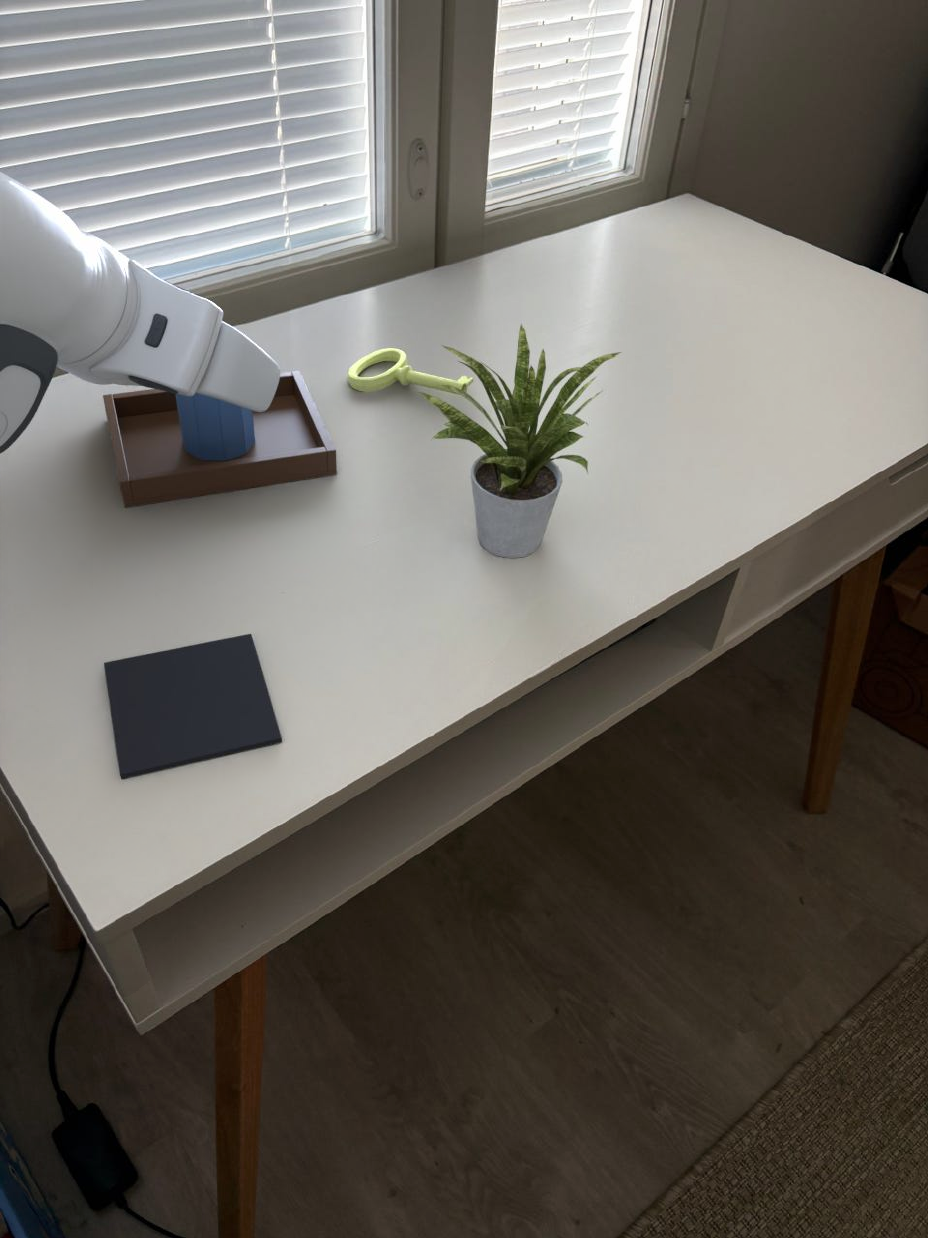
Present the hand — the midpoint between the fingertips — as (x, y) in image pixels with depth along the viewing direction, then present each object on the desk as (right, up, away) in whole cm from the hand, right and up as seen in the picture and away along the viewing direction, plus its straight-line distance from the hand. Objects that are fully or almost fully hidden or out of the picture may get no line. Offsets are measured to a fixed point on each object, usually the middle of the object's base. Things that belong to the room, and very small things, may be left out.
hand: (202, 378), depth 83 cm
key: (+16, +3, +16) cm, 22 cm away
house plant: (+26, -13, 0) cm, 29 cm away
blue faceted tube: (0, -4, +6) cm, 7 cm away
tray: (0, -5, +6) cm, 8 cm away
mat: (+3, -25, -16) cm, 30 cm away
